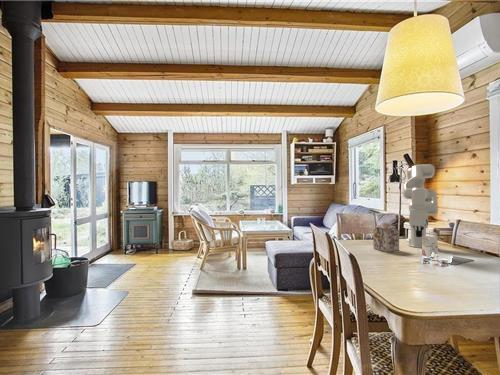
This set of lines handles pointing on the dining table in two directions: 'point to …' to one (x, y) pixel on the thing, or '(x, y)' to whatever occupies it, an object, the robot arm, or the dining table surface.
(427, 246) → the ink cartridge box
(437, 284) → the dining table surface
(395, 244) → the decorative jar
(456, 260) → the mat
